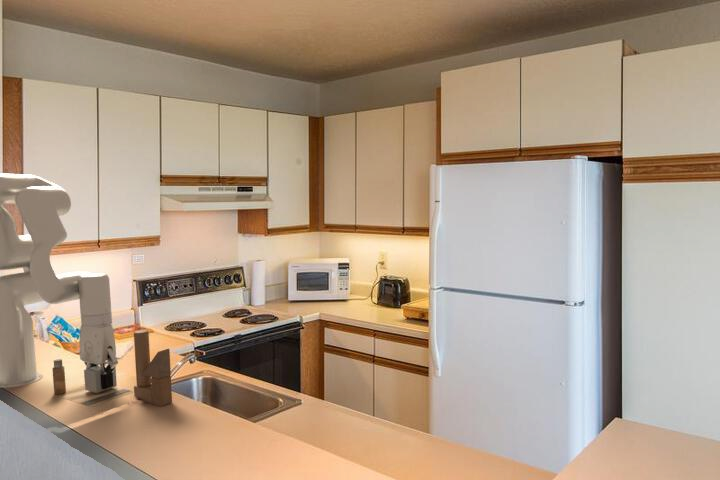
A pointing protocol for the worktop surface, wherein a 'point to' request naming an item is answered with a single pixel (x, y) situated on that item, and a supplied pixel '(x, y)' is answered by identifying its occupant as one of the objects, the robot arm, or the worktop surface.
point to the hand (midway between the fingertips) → (101, 385)
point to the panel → (93, 395)
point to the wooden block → (151, 372)
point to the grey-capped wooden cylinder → (59, 377)
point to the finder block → (96, 379)
